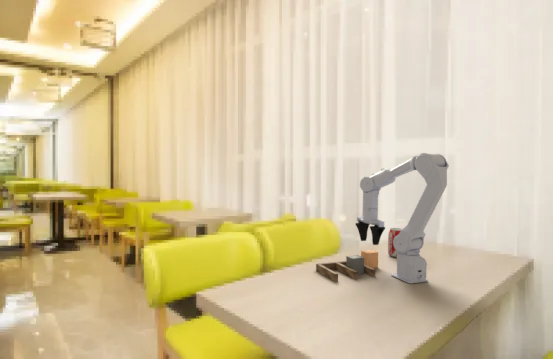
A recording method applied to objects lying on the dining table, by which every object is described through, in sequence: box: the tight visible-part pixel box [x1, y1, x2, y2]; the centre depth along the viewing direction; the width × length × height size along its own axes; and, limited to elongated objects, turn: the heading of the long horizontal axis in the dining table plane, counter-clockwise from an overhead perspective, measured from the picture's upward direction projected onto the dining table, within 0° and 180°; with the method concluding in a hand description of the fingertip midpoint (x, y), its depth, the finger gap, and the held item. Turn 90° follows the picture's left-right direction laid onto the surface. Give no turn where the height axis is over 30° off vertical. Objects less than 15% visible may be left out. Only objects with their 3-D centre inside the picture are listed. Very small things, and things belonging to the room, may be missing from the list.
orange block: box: [360, 249, 379, 269], centre depth 129 cm, size 4×5×6 cm
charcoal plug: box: [345, 254, 365, 276], centre depth 121 cm, size 4×5×6 cm
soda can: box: [387, 227, 403, 259], centre depth 147 cm, size 7×7×12 cm
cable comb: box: [315, 260, 377, 282], centre depth 120 cm, size 13×17×2 cm
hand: (369, 242), depth 129 cm, fingers open, 7 cm apart
